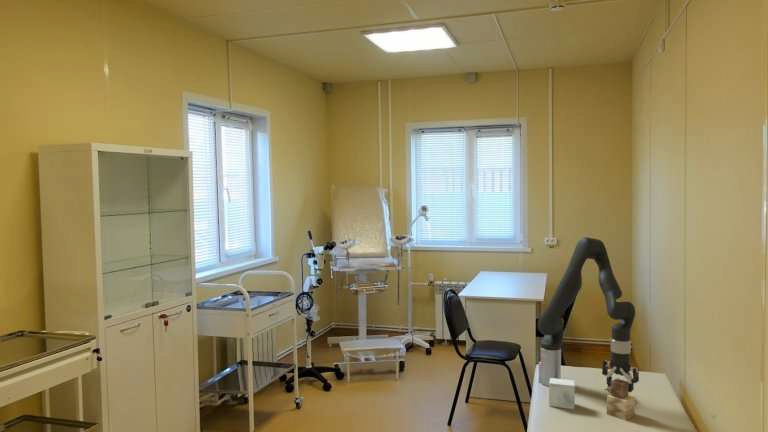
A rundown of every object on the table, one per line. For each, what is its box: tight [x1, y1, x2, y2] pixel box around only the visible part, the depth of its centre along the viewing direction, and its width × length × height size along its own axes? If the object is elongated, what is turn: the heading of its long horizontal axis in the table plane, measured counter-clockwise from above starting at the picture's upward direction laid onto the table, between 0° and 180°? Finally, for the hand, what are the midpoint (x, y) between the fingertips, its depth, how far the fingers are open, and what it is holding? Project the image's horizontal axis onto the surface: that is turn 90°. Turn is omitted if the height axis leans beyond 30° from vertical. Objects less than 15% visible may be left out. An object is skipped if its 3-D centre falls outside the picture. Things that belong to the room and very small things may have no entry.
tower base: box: [606, 405, 636, 421], centre depth 228 cm, size 8×8×4 cm
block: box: [611, 378, 629, 399], centre depth 228 cm, size 5×5×6 cm
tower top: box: [606, 393, 636, 411], centre depth 228 cm, size 8×8×4 cm
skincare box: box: [548, 378, 576, 410], centre depth 238 cm, size 10×6×10 cm, turn 70°
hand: (619, 388), depth 228 cm, fingers open, 8 cm apart
